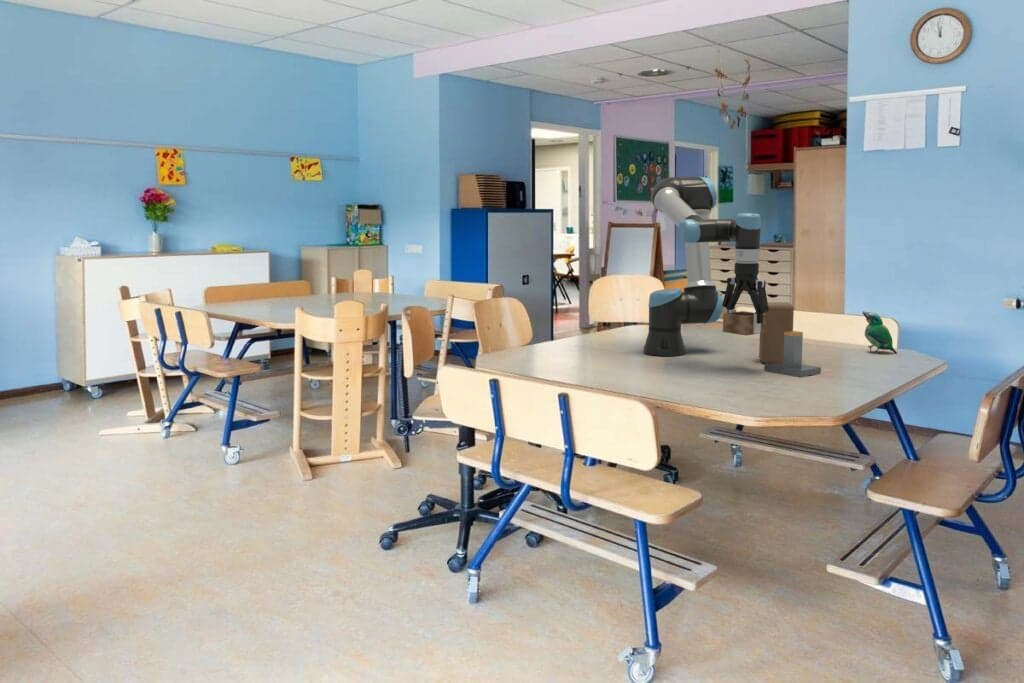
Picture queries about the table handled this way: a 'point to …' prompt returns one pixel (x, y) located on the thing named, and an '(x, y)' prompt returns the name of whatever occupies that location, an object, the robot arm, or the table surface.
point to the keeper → (792, 358)
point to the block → (775, 331)
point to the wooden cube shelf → (741, 323)
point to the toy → (877, 332)
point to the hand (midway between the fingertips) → (744, 331)
